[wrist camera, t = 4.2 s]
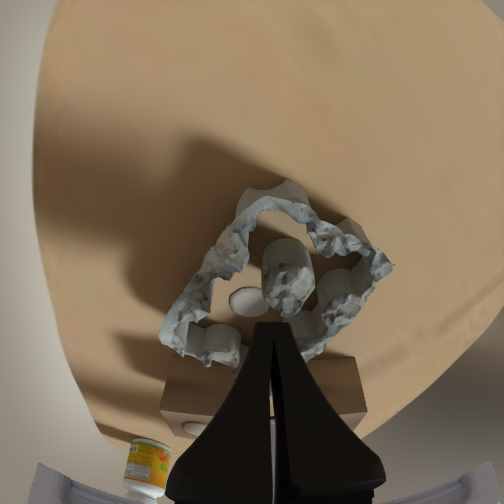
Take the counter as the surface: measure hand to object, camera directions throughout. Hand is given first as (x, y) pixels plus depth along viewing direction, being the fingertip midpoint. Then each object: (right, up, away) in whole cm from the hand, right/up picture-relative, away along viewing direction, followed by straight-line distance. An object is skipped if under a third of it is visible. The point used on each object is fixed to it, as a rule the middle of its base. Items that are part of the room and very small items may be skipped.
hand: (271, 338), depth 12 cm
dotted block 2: (+4, -6, +8) cm, 11 cm away
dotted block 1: (-4, -5, +8) cm, 11 cm away
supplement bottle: (-14, -22, +19) cm, 32 cm away
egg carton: (0, +2, +4) cm, 4 cm away
